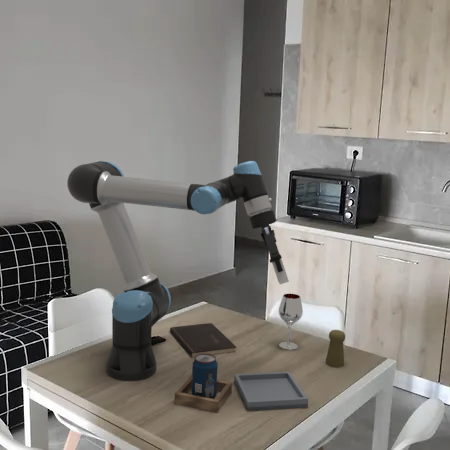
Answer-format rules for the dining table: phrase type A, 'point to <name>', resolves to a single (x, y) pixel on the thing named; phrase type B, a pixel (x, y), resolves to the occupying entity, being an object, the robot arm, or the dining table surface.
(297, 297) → the wineglass
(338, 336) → the cork
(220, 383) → the can holder
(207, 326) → the hardcover book
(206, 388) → the soda can
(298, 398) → the tray
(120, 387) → the dining table surface
